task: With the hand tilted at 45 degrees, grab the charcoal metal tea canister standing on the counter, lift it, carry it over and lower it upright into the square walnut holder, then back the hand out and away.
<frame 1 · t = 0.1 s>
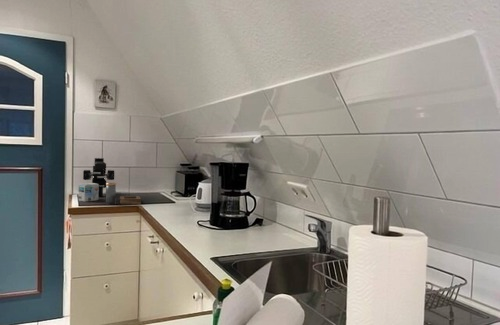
hand: (99, 176, 240), 17 cm above the worktop, tool horizontal, fingers open, 9 cm apart
light bulb box: (88, 200, 249), on the worktop
holder: (130, 202, 247), on the worktop
canister: (110, 204, 239), on the worktop
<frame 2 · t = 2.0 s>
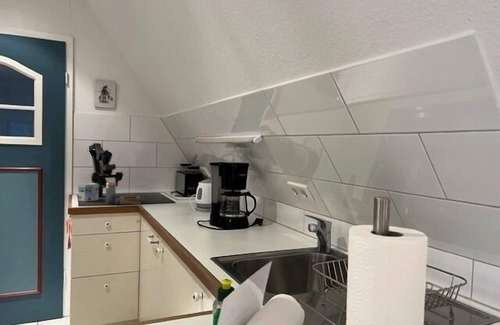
hand: (109, 186, 241), 10 cm above the worktop, tool tilted 45°, fingers open, 9 cm apart
nothing on the worktop moved.
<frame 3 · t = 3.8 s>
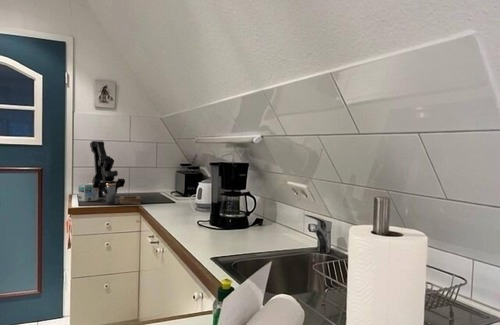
hand: (111, 193, 237), 7 cm above the worktop, tool tilted 45°, fingers closed on canister, 6 cm apart
canister: (110, 204, 239), on the worktop, touching gripper
everything else where it was.
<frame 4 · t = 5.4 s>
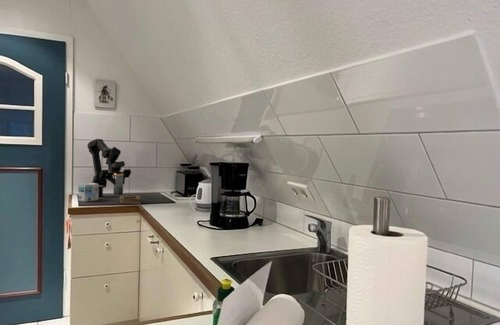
hand: (119, 184, 239), 12 cm above the worktop, tool tilted 45°, fingers closed on canister, 6 cm apart
canister: (118, 194, 241), point 6 cm above the worktop, touching gripper
everything else where it was.
when the fingers open (9 cm above the worktop, at t = 7.2 s): canister drops 1 cm, resting on holder.
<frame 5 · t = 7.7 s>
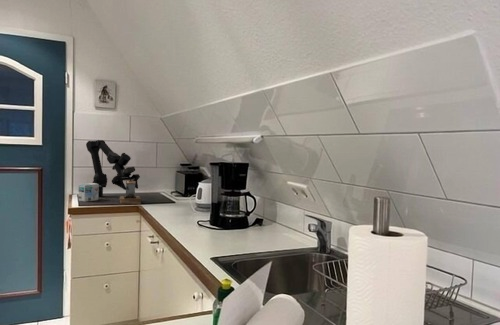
hand: (131, 189, 245), 9 cm above the worktop, tool tilted 45°, fingers open, 9 cm apart
canister: (130, 201, 247), point 1 cm above the worktop, touching holder
everything else where it was.
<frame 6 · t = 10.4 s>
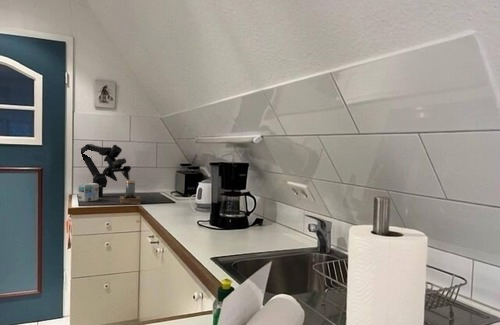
hand: (122, 180, 250), 14 cm above the worktop, tool tilted 45°, fingers open, 9 cm apart
nothing on the worktop moved.
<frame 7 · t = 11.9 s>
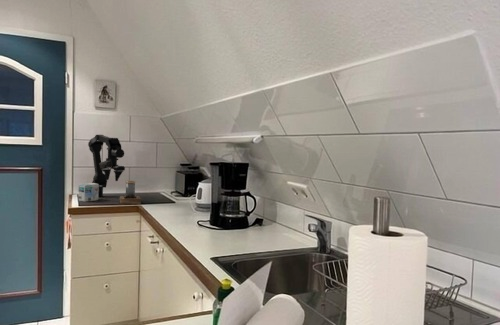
hand: (111, 180, 251), 13 cm above the worktop, tool pointing down, fingers open, 9 cm apart
nothing on the worktop moved.
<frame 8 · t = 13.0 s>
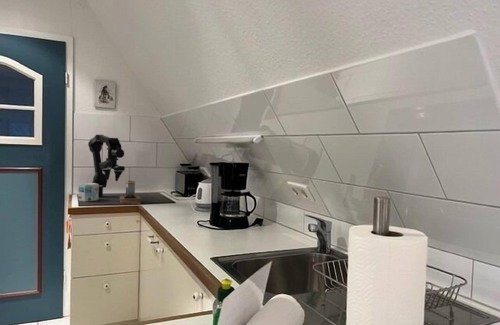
hand: (111, 180, 251), 13 cm above the worktop, tool pointing down, fingers open, 9 cm apart
nothing on the worktop moved.
at the end: canister 0.0 cm off-centre on the holder, point 0.8 cm above the holder's base; canister tilted 0°; the gripper is holding nothing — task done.
